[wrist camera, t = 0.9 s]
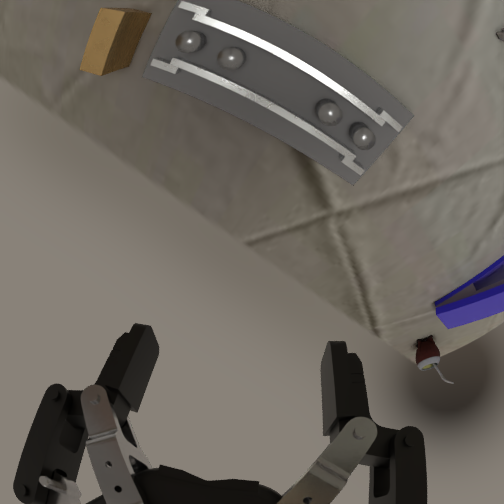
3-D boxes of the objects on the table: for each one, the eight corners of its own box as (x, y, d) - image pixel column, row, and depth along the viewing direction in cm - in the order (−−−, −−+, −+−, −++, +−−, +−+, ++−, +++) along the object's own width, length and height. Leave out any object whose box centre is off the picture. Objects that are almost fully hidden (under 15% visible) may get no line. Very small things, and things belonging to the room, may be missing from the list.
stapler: (531, 257, 36) (548, 290, 29) (445, 317, 53) (454, 352, 46) (528, 230, 32) (550, 266, 25) (430, 300, 48) (442, 340, 41)
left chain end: (156, 63, 22) (145, 66, 21) (186, 2, 17) (177, -1, 16) (263, 110, 26) (261, 117, 24) (302, 52, 21) (304, 53, 19)
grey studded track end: (263, 110, 26) (261, 117, 24) (302, 52, 21) (304, 53, 19) (357, 169, 30) (362, 180, 28) (398, 122, 25) (406, 130, 23)
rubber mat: (145, 75, 24) (142, 77, 24) (189, -15, 16) (187, -16, 16) (351, 182, 32) (353, 185, 31) (411, 113, 24) (414, 115, 24)
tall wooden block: (109, 60, 22) (79, 69, 18) (130, 8, 18) (100, 7, 14) (129, 66, 23) (101, 75, 19) (151, 13, 19) (124, 11, 14)
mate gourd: (407, 345, 62) (416, 395, 52) (427, 331, 57) (438, 384, 46) (424, 347, 63) (433, 394, 53) (443, 333, 58) (454, 383, 47)
